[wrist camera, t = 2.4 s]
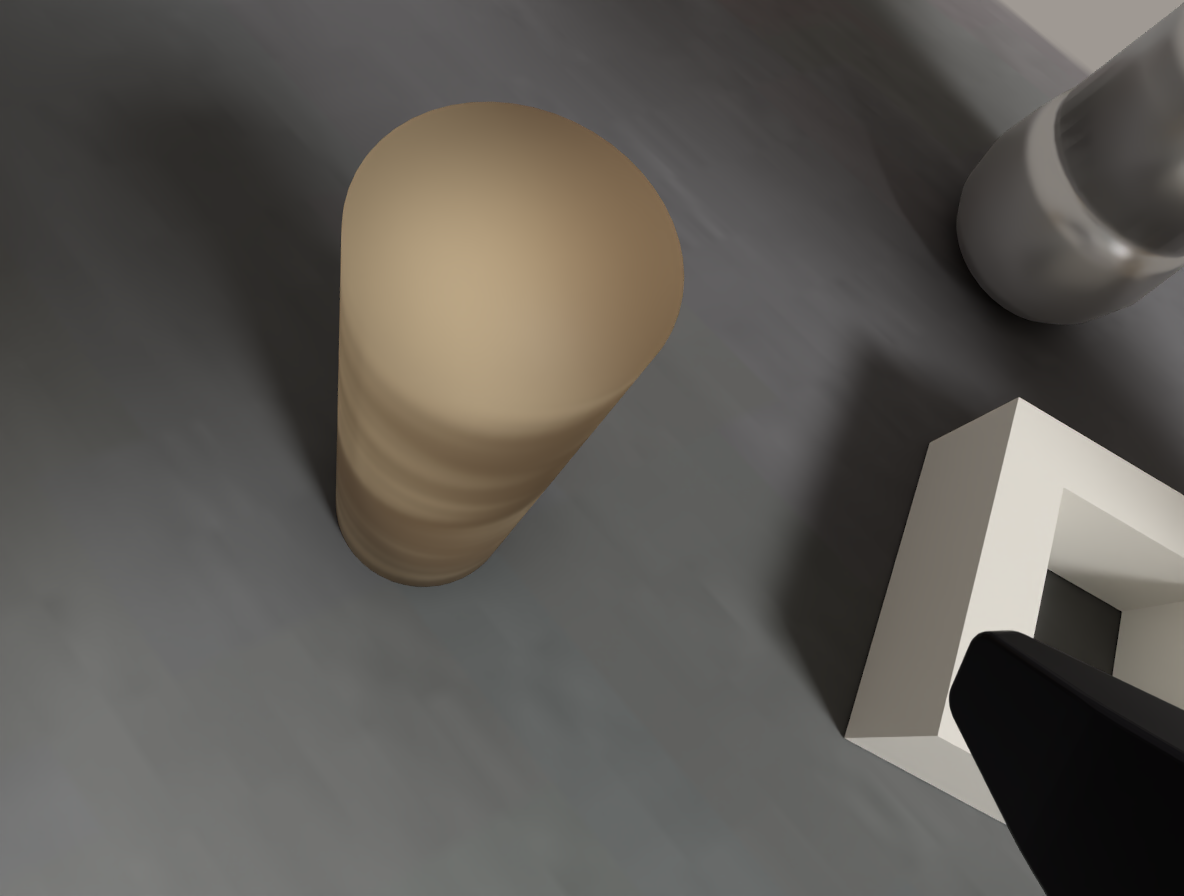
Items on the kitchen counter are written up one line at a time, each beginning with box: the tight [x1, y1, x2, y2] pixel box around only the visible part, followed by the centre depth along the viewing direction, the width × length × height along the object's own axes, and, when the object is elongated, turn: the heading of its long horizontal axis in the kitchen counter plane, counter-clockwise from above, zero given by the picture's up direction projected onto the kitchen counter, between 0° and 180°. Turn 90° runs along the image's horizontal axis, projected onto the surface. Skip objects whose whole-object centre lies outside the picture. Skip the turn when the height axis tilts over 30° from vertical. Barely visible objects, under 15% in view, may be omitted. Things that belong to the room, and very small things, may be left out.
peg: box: [336, 102, 684, 587], centre depth 15 cm, size 4×4×11 cm
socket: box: [844, 397, 1184, 824], centre depth 21 cm, size 9×9×4 cm
